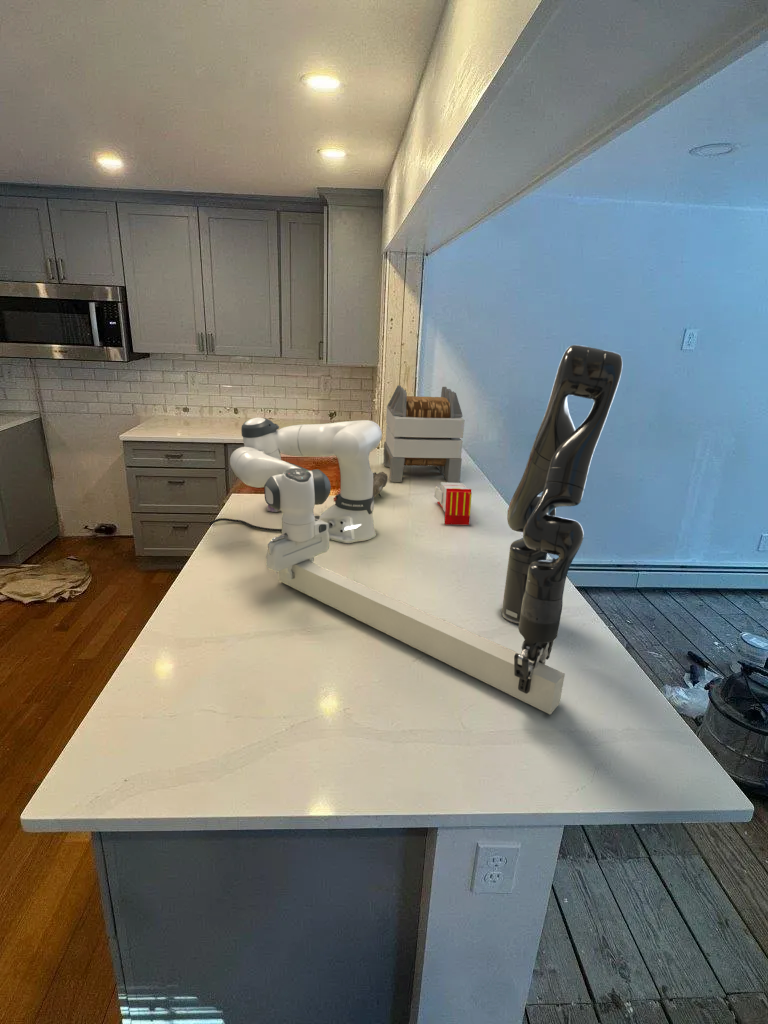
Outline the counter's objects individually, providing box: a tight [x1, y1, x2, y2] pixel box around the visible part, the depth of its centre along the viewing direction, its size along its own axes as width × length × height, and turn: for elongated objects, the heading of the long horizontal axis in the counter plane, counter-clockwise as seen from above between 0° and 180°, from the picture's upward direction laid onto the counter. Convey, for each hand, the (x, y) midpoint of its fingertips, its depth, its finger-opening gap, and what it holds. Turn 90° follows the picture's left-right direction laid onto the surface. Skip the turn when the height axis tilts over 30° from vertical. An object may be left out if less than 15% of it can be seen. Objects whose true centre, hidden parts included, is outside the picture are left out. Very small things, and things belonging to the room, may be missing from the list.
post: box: [277, 560, 566, 715], centre depth 137 cm, size 82×4×7 cm, turn 50°
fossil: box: [373, 471, 389, 498], centre depth 236 cm, size 22×10×15 cm
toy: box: [434, 481, 472, 526], centre depth 221 cm, size 12×13×30 cm
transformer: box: [383, 384, 465, 483], centre depth 268 cm, size 34×33×41 cm
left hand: (298, 575), depth 158 cm, fingers closed on post, 4 cm apart
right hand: (529, 684), depth 116 cm, fingers closed on post, 4 cm apart
